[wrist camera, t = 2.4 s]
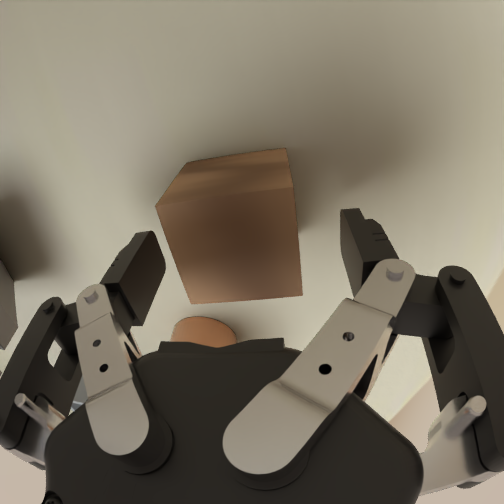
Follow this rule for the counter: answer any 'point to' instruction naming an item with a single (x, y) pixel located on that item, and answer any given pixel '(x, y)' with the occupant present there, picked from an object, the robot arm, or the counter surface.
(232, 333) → the peach dome-topped cylinder
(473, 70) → the counter surface
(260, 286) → the cube
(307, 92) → the counter surface
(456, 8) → the counter surface
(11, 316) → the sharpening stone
